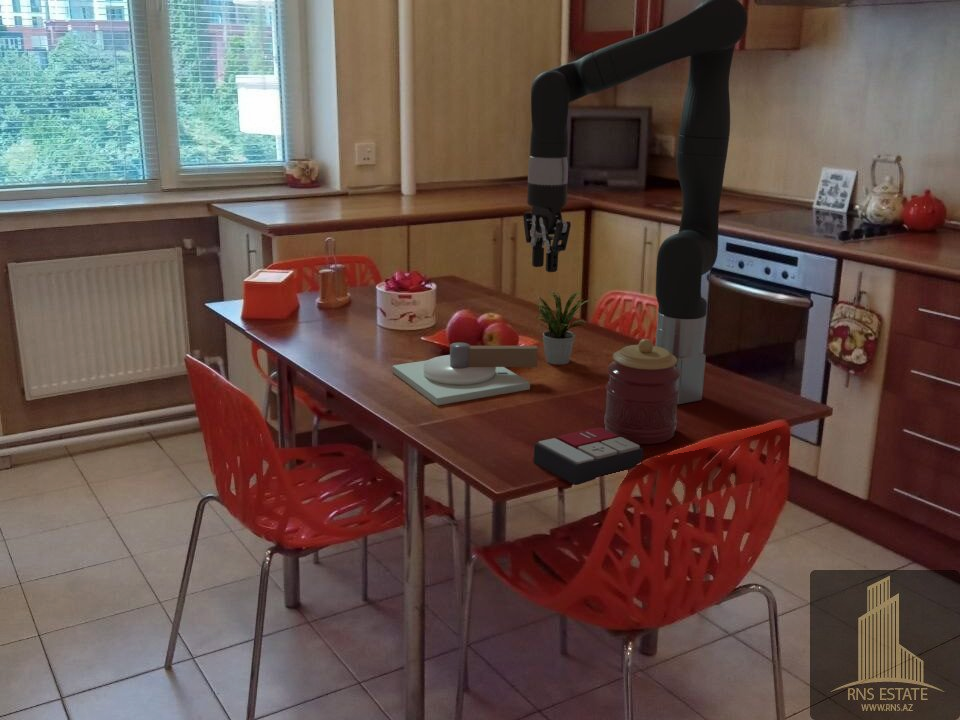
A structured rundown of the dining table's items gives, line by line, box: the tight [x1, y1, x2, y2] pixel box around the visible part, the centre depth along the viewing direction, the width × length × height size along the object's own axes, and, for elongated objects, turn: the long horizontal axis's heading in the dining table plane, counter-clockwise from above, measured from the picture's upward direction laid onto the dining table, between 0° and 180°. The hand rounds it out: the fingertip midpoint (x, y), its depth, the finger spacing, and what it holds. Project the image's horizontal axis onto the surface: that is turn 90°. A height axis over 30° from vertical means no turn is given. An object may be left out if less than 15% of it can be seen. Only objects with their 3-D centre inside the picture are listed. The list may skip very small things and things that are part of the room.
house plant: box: [534, 290, 597, 366], centre depth 208 cm, size 14×14×16 cm
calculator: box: [532, 426, 644, 486], centre depth 158 cm, size 11×4×15 cm
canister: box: [603, 338, 681, 445], centre depth 169 cm, size 13×13×18 cm
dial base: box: [391, 359, 531, 406], centre depth 196 cm, size 22×21×2 cm
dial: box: [424, 342, 538, 385], centre depth 195 cm, size 24×15×6 cm, turn 93°
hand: (544, 268), depth 184 cm, fingers open, 4 cm apart
